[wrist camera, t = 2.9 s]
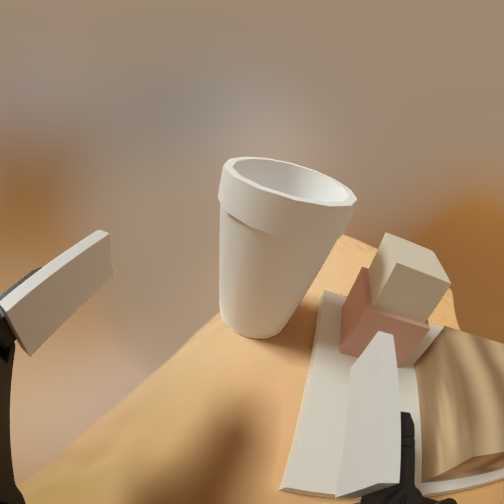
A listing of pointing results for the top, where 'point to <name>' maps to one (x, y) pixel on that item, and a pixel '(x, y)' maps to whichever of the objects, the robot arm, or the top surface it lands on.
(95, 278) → the robot arm
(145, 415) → the top surface
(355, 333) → the terracotta tower
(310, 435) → the white board
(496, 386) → the oak plinth
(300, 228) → the foam cup
